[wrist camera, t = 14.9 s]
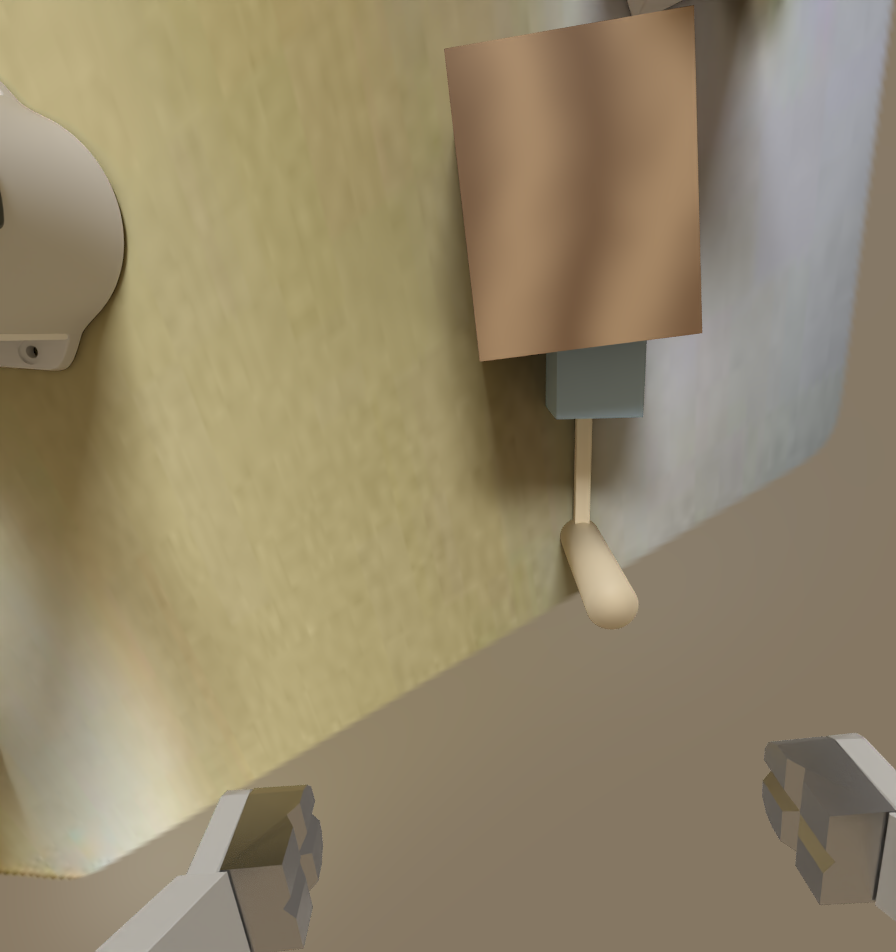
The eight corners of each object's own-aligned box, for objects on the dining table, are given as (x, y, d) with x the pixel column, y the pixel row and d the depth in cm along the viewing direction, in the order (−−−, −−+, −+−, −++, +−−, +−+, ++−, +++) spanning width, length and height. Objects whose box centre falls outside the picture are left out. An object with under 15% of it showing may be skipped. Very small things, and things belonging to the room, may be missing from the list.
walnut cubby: (480, 353, 40) (479, 361, 30) (454, 124, 36) (444, 48, 27) (646, 331, 39) (702, 333, 29) (634, 94, 35) (694, 5, 26)
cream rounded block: (544, 554, 43) (565, 629, 32) (546, 331, 39) (570, 332, 28) (614, 554, 43) (657, 629, 32) (622, 328, 39) (675, 329, 28)
